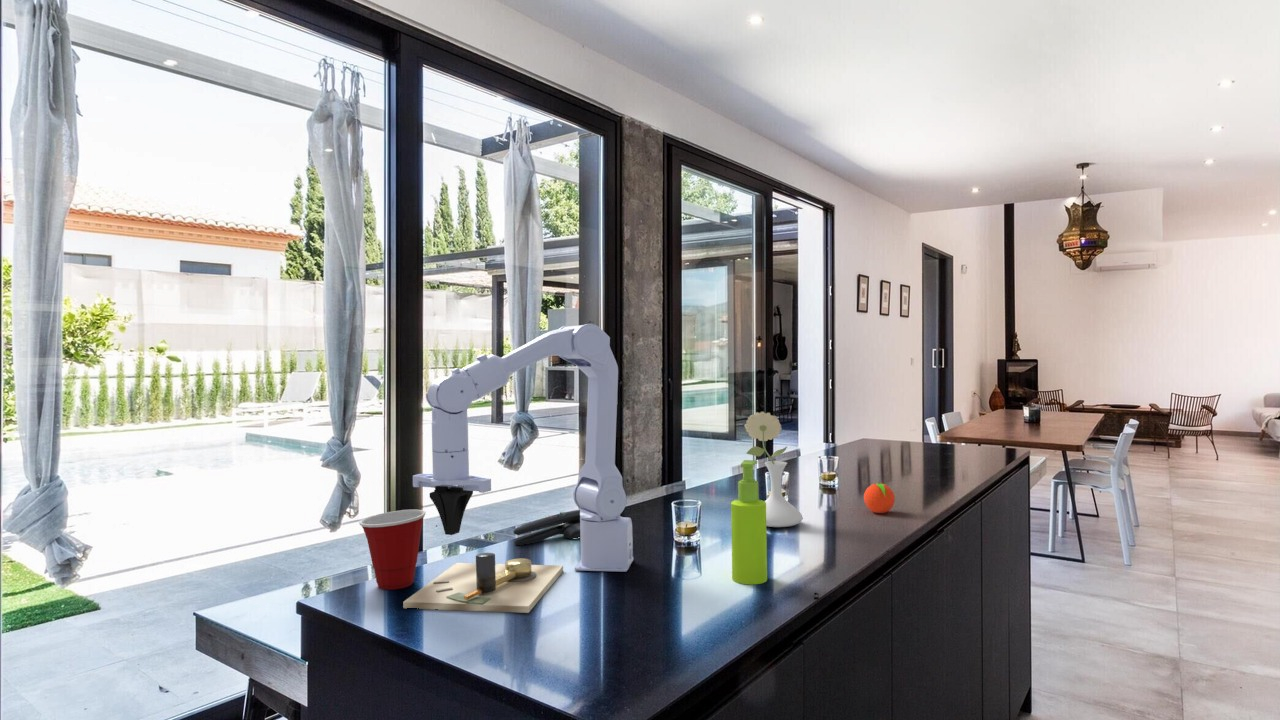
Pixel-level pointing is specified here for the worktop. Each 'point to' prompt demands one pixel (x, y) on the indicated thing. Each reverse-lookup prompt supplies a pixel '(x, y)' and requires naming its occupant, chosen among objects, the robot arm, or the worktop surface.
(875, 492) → the clementine
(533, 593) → the dial board
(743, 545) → the soap dispenser
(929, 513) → the worktop surface
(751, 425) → the flower in vase
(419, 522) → the plastic cup
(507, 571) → the lever
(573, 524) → the can opener
